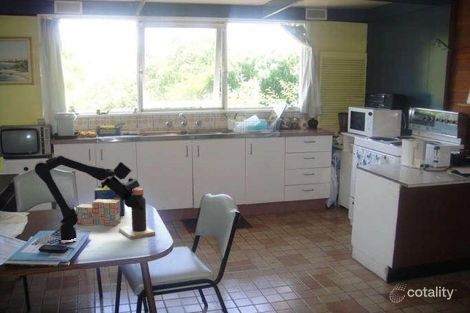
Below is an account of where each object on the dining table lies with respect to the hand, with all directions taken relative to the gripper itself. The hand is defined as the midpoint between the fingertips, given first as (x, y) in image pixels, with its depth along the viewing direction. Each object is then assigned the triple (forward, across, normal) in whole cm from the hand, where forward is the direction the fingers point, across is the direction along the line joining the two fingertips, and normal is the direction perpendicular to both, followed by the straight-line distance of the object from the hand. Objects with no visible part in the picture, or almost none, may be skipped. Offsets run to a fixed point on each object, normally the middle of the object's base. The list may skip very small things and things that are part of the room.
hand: (141, 207), depth 221 cm
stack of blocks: (-4, +24, +22) cm, 32 cm away
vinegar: (+7, 0, +9) cm, 11 cm away
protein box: (+2, +38, +16) cm, 41 cm away
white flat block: (+7, +1, +10) cm, 13 cm away
